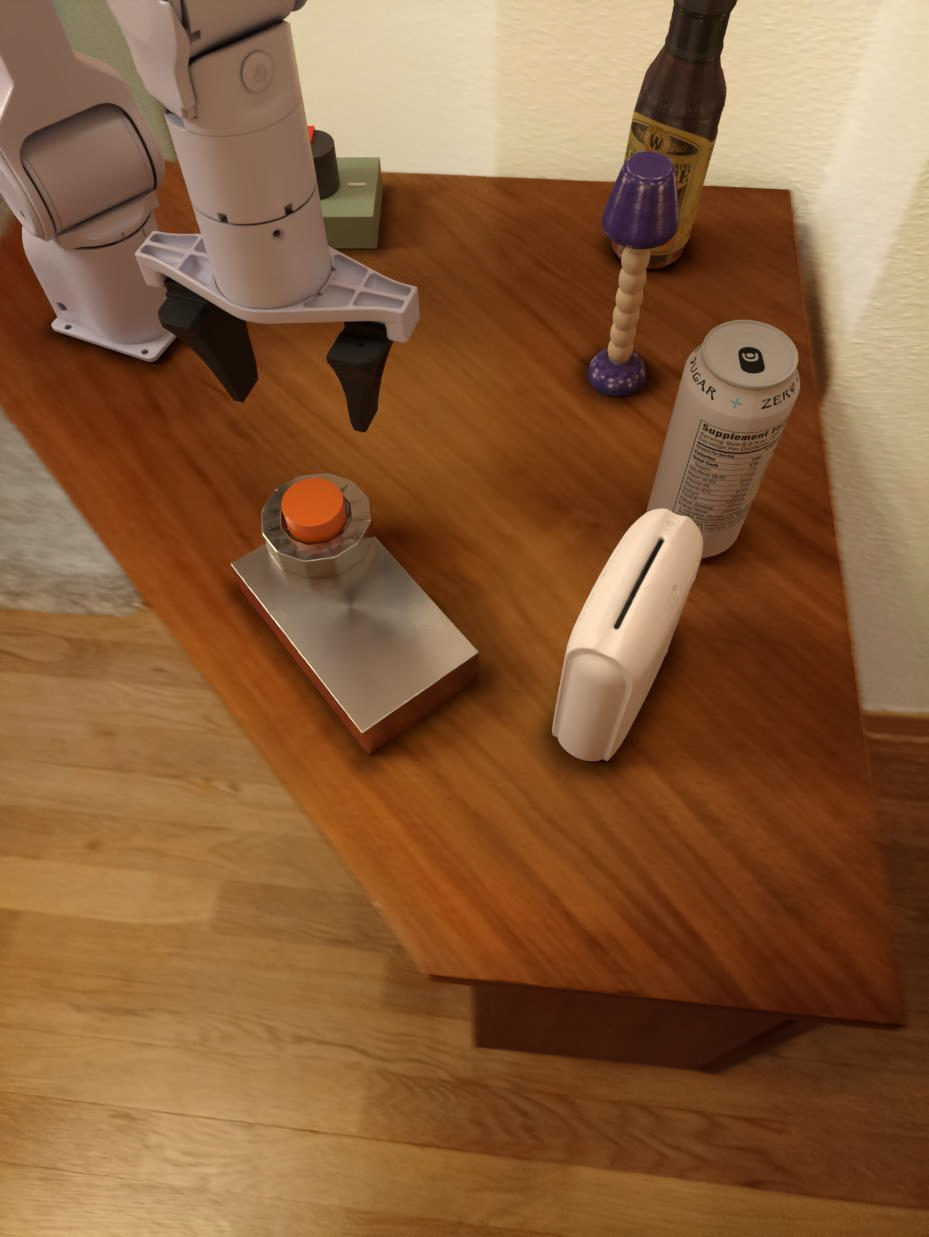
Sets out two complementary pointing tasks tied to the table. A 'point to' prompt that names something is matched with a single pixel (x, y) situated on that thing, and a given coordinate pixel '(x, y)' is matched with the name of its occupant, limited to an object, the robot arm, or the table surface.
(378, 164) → the panel
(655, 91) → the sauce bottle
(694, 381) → the energy drink can
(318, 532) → the button
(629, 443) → the table surface
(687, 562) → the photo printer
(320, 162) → the knob
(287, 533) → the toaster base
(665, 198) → the toy lamp
